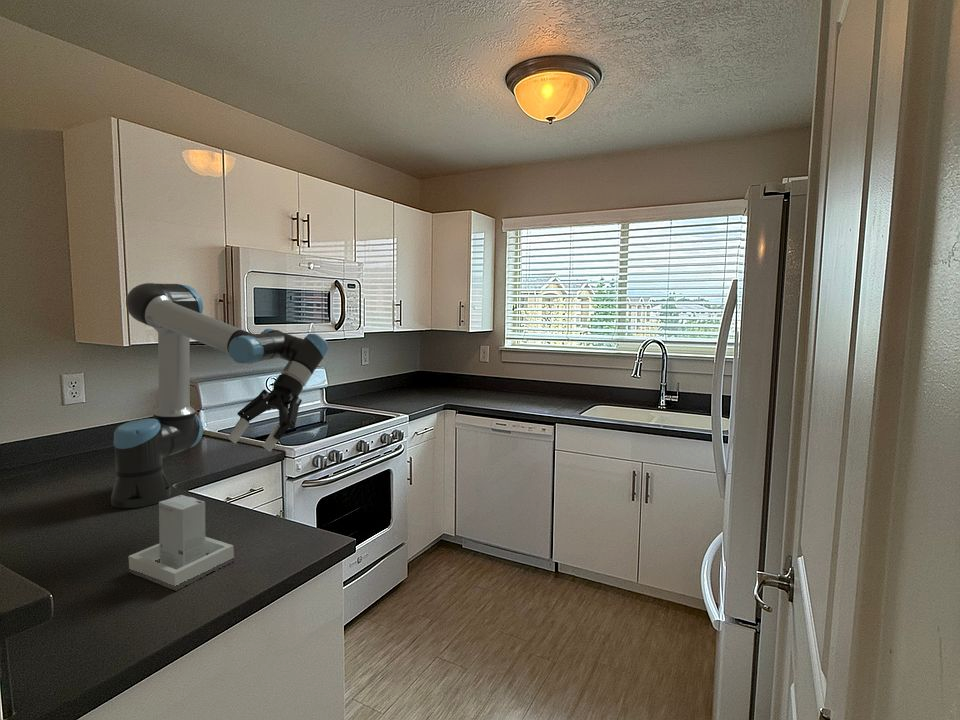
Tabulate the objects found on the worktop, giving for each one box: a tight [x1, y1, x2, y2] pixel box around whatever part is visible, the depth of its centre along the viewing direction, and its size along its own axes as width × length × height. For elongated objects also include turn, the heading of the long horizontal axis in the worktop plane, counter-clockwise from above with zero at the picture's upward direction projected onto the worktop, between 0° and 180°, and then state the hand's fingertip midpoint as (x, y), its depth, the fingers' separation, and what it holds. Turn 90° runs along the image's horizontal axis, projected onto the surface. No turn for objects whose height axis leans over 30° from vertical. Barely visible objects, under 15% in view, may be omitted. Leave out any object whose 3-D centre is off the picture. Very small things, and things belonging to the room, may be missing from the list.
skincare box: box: [158, 494, 206, 570], centre depth 117 cm, size 8×6×15 cm
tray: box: [128, 536, 235, 586], centre depth 118 cm, size 16×14×4 cm
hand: (248, 444), depth 138 cm, fingers open, 13 cm apart
